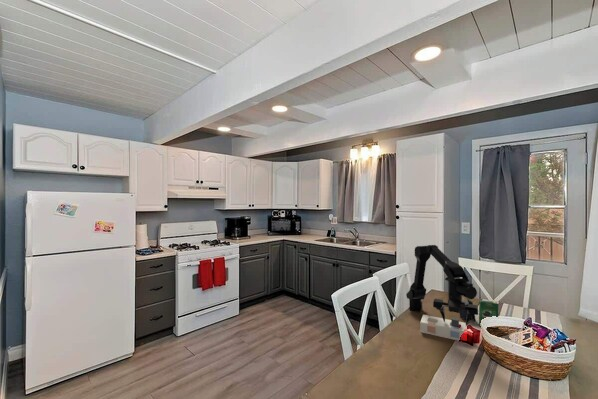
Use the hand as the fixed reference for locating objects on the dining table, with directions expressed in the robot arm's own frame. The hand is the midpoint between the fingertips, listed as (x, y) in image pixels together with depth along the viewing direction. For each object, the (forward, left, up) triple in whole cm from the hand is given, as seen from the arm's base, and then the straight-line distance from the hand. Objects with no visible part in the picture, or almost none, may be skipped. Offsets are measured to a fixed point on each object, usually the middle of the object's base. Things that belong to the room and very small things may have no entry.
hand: (455, 323), depth 135 cm
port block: (-5, 0, -6) cm, 7 cm away
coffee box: (+14, +18, -6) cm, 24 cm away
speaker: (+4, +24, -6) cm, 25 cm away
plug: (0, 0, -6) cm, 6 cm away
